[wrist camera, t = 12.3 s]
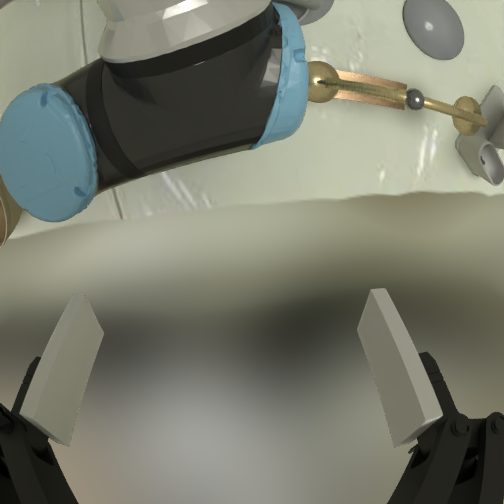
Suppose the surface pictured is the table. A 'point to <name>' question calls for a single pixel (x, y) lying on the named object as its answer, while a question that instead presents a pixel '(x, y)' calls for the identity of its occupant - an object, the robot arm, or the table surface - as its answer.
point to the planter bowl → (7, 213)
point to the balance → (388, 95)
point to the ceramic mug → (310, 2)
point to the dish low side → (312, 14)
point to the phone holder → (486, 140)
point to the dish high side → (434, 28)
